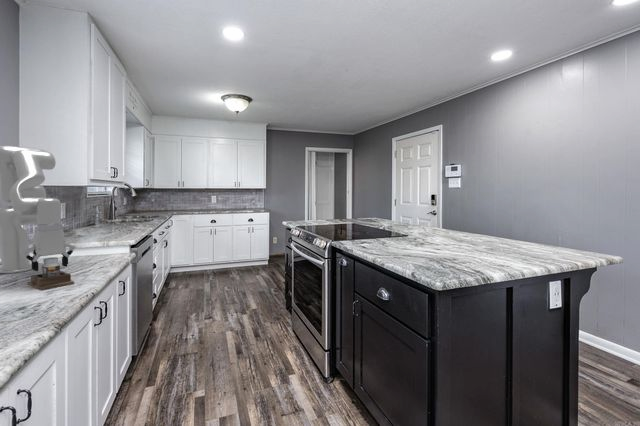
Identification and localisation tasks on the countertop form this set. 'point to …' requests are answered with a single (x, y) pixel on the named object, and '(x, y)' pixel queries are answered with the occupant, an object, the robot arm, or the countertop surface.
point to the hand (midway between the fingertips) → (50, 268)
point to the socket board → (50, 281)
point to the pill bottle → (50, 268)
